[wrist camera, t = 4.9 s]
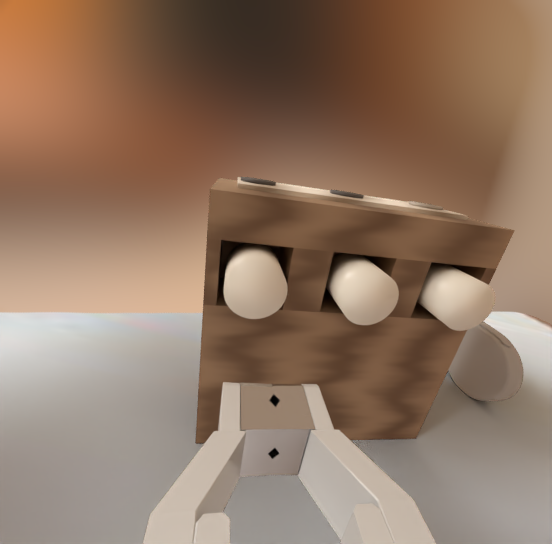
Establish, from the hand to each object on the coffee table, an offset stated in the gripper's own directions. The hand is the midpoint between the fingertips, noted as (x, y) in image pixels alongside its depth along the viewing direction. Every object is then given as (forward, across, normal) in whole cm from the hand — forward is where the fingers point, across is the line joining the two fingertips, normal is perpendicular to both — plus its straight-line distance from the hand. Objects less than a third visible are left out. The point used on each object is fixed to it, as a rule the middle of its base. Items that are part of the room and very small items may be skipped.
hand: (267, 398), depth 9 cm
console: (+13, -7, +15) cm, 21 cm away
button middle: (+9, -7, +2) cm, 12 cm away
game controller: (+21, -28, +15) cm, 38 cm away
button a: (+9, 0, +2) cm, 10 cm away
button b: (+9, -14, +2) cm, 17 cm away
